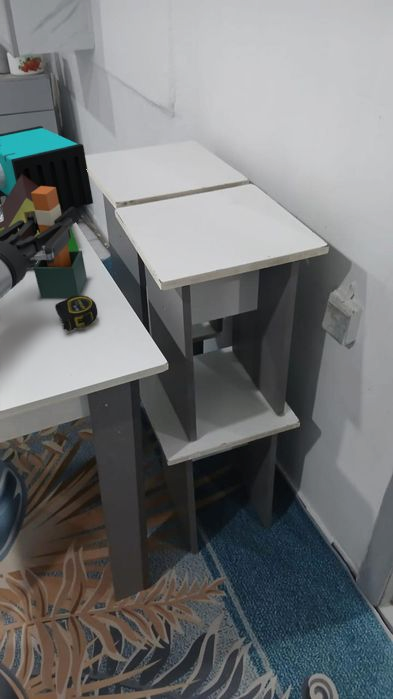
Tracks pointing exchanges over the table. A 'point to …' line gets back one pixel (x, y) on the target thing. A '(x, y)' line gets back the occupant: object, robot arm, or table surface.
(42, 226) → the block
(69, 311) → the tape measure
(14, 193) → the house model
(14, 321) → the table surface
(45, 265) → the open box
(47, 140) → the electronic device
